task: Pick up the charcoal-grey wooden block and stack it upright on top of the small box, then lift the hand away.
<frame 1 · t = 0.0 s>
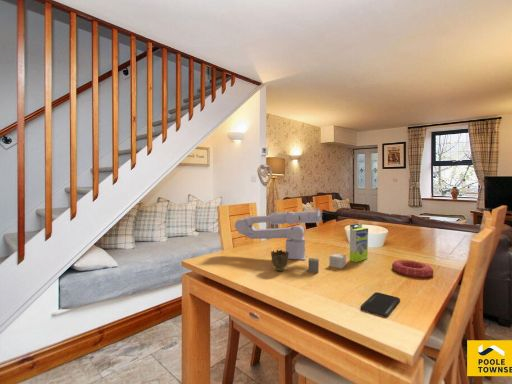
hand: (337, 215, 133), 22 cm above the table, tool horizontal, fingers open, 7 cm apart
small box: (337, 266, 125), on the table
torus: (411, 272, 117), on the table
cup: (279, 271, 119), on the table
box: (358, 260, 135), on the table
phone: (380, 306, 86), on the table
charcoal block: (313, 271, 118), on the table
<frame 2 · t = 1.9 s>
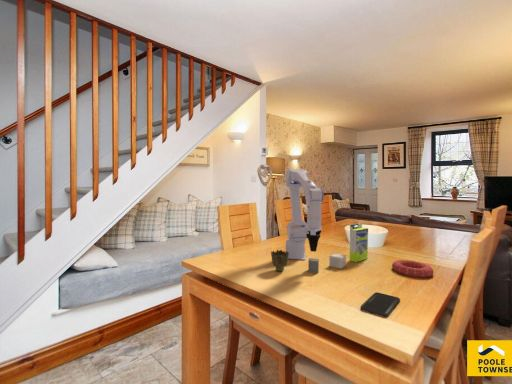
hand: (313, 249, 118), 9 cm above the table, tool pointing down, fingers open, 7 cm apart
nothing on the table moved.
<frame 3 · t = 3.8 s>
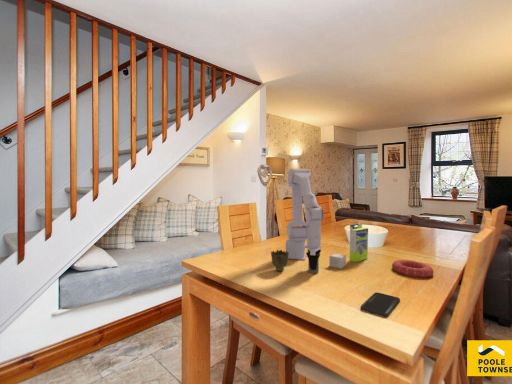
hand: (313, 267, 118), 1 cm above the table, tool pointing down, fingers closed on charcoal block, 4 cm apart
charcoal block: (313, 271, 118), on the table, touching gripper
everything else where it was.
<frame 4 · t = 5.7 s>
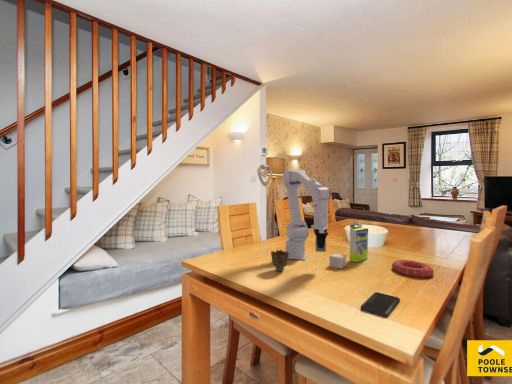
hand: (320, 246, 120), 10 cm above the table, tool pointing down, fingers closed on charcoal block, 4 cm apart
charcoal block: (320, 250, 120), point 8 cm above the table, touching gripper
everything else where it was.
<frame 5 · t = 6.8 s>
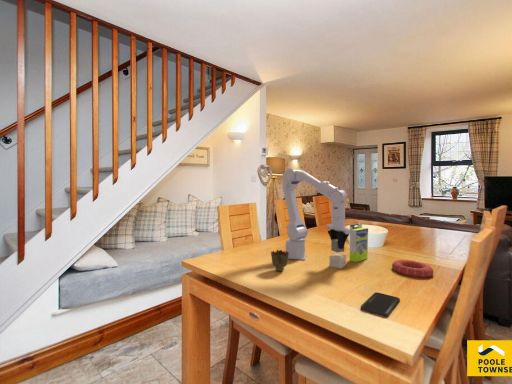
hand: (337, 247, 125), 8 cm above the table, tool pointing down, fingers closed on charcoal block, 4 cm apart
charcoal block: (337, 250, 125), point 7 cm above the table, touching gripper
everything else where it was.
when the fingers open (8 cm above the table, at t = 7.7 s): charcoal block drops 2 cm, resting on small box.
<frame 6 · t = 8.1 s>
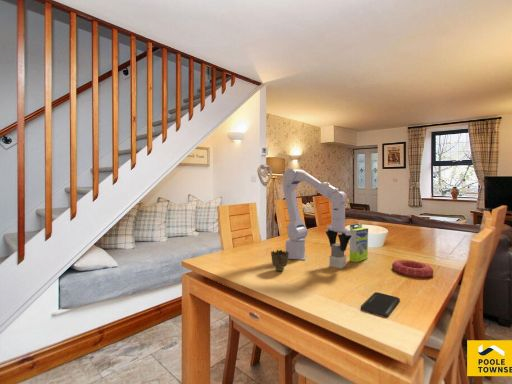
hand: (337, 248, 125), 8 cm above the table, tool pointing down, fingers open, 7 cm apart
small box: (337, 266, 125), on the table, touching charcoal block
charcoal block: (337, 255, 125), point 5 cm above the table, touching small box
everything else where it was.
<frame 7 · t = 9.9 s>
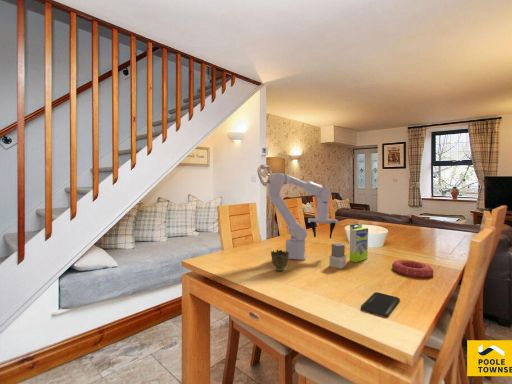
hand: (322, 237, 141), 10 cm above the table, tool pointing down, fingers open, 7 cm apart
nothing on the table moved.
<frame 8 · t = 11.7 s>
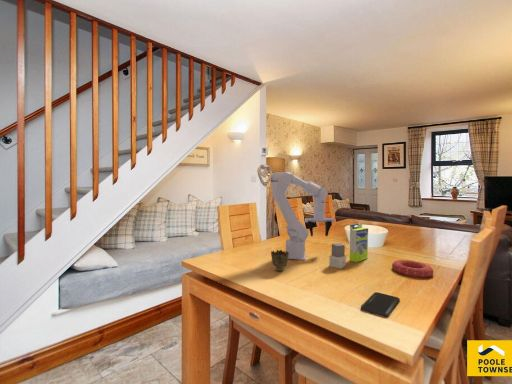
hand: (319, 235, 145), 9 cm above the table, tool pointing down, fingers open, 7 cm apart
nothing on the table moved.
at the end: charcoal block 0.1 cm off-centre on the small box, point 5.1 cm above the small box's base; charcoal block tilted 0°; the gripper is holding nothing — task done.
